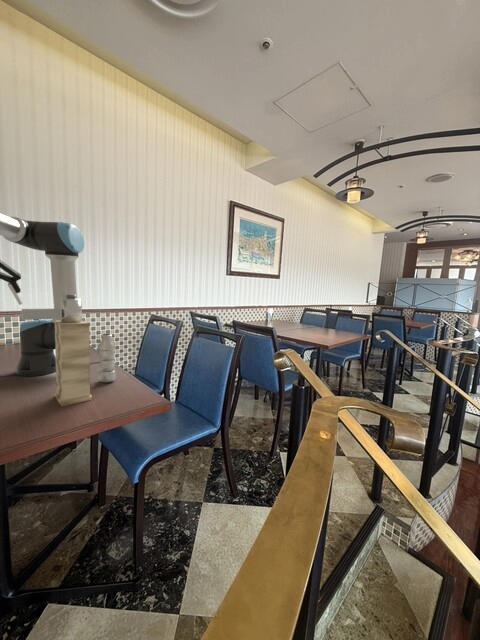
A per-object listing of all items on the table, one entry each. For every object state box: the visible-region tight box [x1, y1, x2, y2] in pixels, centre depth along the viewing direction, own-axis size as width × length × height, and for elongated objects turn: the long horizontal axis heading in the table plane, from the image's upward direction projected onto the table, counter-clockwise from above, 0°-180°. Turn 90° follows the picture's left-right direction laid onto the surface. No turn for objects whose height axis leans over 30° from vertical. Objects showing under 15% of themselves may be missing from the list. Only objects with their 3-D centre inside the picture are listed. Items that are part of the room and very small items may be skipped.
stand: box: [54, 319, 93, 407], centre depth 91 cm, size 11×9×27 cm
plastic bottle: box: [97, 333, 117, 383], centre depth 109 cm, size 6×7×20 cm
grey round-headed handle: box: [21, 295, 83, 323], centre depth 86 cm, size 6×16×9 cm, turn 135°
